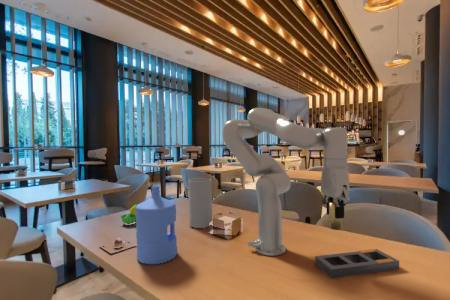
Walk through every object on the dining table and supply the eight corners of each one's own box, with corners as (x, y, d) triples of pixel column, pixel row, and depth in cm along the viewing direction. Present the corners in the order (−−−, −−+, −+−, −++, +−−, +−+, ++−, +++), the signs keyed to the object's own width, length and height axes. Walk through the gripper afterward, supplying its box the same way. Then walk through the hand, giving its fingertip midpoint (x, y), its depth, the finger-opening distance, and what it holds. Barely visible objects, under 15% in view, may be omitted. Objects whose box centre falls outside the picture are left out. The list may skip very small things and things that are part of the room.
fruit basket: (137, 219, 154) (136, 200, 153) (146, 222, 148) (146, 202, 148) (119, 225, 144) (119, 205, 144) (129, 227, 139) (128, 207, 139)
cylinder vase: (216, 223, 143) (215, 178, 142) (203, 230, 132) (202, 182, 131) (199, 220, 150) (198, 177, 149) (184, 226, 139) (183, 180, 138)
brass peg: (333, 230, 87) (333, 204, 87) (326, 226, 91) (326, 201, 91) (344, 229, 88) (344, 203, 88) (336, 225, 92) (336, 200, 92)
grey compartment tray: (331, 278, 84) (331, 269, 84) (315, 264, 94) (315, 255, 94) (399, 269, 89) (399, 260, 89) (376, 256, 99) (376, 248, 99)
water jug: (140, 269, 93) (138, 192, 92) (134, 253, 107) (132, 185, 106) (182, 259, 100) (180, 187, 99) (171, 245, 114) (169, 182, 113)
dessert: (98, 248, 113) (98, 238, 113) (125, 240, 122) (124, 230, 122) (110, 256, 105) (110, 245, 105) (137, 247, 114) (137, 236, 114)
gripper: (312, 162, 96) (312, 210, 97) (340, 166, 80) (340, 224, 81) (330, 161, 98) (330, 209, 98) (362, 165, 81) (361, 222, 82)
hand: (335, 215), depth 90 cm, fingers closed on brass peg, 4 cm apart
